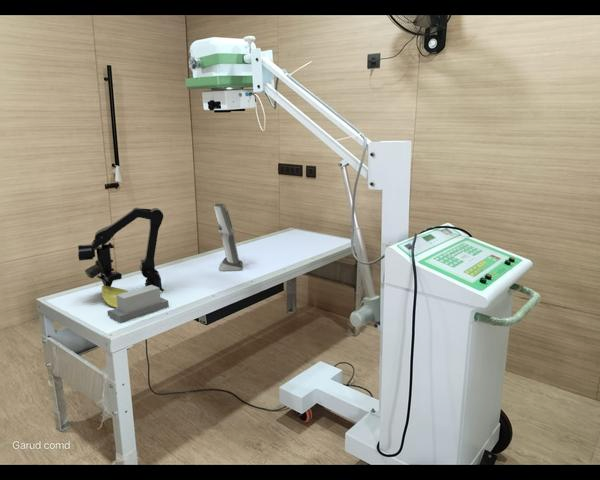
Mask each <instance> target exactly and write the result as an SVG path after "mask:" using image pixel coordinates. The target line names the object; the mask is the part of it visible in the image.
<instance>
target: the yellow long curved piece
mask: <svg viewBox="0 0 600 480" xmlns="http://www.w3.org/2000/svg"><path fill="white" fill-rule="evenodd" d="M128 291H129V290H126V289H123V288H119V287H114V286H111V287H110V286H105V285H104V284H103V285H102V286H101V294H102V297H103V301H105V303H107V305H109V306H111V307H113V308H115V309H116V308H118V305H117V297H116V295H118V294H121V293H125V292H128Z"/></svg>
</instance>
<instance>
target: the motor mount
mask: <svg viewBox="0 0 600 480" xmlns="http://www.w3.org/2000/svg"><path fill="white" fill-rule="evenodd" d="M127 291H128V292H125V293H121V294H118V295H116V297H117V305H118V308H116V307H115V308H114V309H109V310H107V312H106V313H107V316H108V317H109V318H110V319H111V320H113V321H115V322H118V323H120V324H123V323H126V322H129V321H132V320H134V319H137V318H141V317H143V316H147V315H149V314H152V313H155V311H156V312H158V310H159V311H162V310H165V309H168V308H170V306H169V300H168V299H165V298H163V297H161V295H162V293H163V291H160V288H158V287H156V286H153V285H149V286H146V287H145V286H143V287H142V286H141V287H140V288H136V289H132V290H127ZM167 307H168V308H167ZM164 308H165V309H164ZM161 309H162V310H161Z"/></svg>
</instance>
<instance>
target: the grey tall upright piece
mask: <svg viewBox="0 0 600 480" xmlns="http://www.w3.org/2000/svg"><path fill="white" fill-rule="evenodd" d="M213 207H214V208H213V209H214V213H215V216H216V219H217V223H218V228H217V232H218V233H220V237H221V242H222V245H223V250H224V253H225V257H224V259H223V260H222V261H221V263H220V264H219V267H218V270H219V271H220V272H233V271H242V270H243V269H244V268H243V267H244V264H243V261H242V260H240V257H239V253H238V248H237V244H236V240H235V234H234V227H233V225H232V221H231V217H230V214H229V210H228V207H227V204H225V203H215V204H214V206H213Z"/></svg>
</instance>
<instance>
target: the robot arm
mask: <svg viewBox="0 0 600 480" xmlns="http://www.w3.org/2000/svg"><path fill="white" fill-rule="evenodd" d="M138 218H140V219H145V220H148V221H149V231H148V238H147V244H146V251H145V257H144V258H143V259H142V258H141V259H140V266H139V269H140V272H141V274H142V276H143V277H144V278H146V279H145V282H144V285H145V286H144V287H146V286H149V285H153V286H156V287H158V288H160V291H162V292H163V291H164V288H162V277H161V275H160V273H159V271H158V270H157V269H156V268H155V267H156V266H155V255H156V249H157V242H158V237H159V236H158V235H159V229H160V228H161V225H162V222H163V220H164V213H163V211H162V210H161V209H160V208H157V207H154V208H151V209H150V208H140V207H133V208H132V209H131V211H128V213H126V214H125V215H123V216H122V217H120V218H119V219H118V220H116V221H114V222H113V223H112V224H110V225H108V226H104V227H103V228H101V229H98V230H97V231H96V232H95V234H94V239H93V241H92V242H91V244H84V245H83V244H79V245H77V248H78V249H77V250H78V256H77V257H78V261H79V262H81V261H90V260H94V258H95V257H96V260H95V263H94V265H92V266H90V267H88V268H86V269H85V270H84V273H85V274H86V276H87V277H88V278H90V279H94V278H95V277H96V278H98V279H99V280H101V282H102V284H103V285H105V286H110V287H112V285H113V283H114V281H119V280H122V278H123V275H122V273H121V272H118V271H117V270H115V269H114V268H113V264H112V263H114V260H113V259H112V253H111V249H115V244H113V243H112V242H110V241H111V240H112V239H113V237H114V236H115V235H116V234H117V233H118V232H120V230H122V229H123V228H125V227H127V226H128V225H129V224H131V223H132V222H134V221H135V220H136V219H138Z"/></svg>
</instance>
